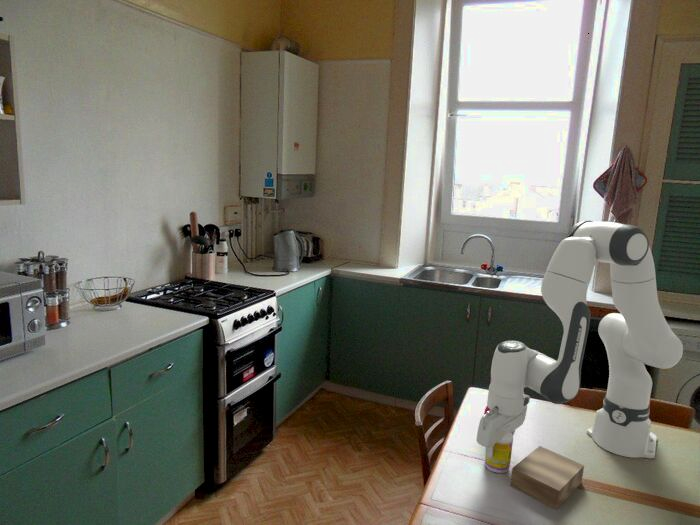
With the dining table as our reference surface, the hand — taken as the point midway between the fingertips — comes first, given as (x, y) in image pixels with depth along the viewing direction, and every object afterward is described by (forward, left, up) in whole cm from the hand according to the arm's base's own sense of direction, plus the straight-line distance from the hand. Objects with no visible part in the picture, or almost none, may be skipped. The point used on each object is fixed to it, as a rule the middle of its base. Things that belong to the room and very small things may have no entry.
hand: (498, 449), depth 136 cm
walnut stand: (-3, +12, -5) cm, 14 cm away
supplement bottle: (0, 0, -5) cm, 5 cm away
